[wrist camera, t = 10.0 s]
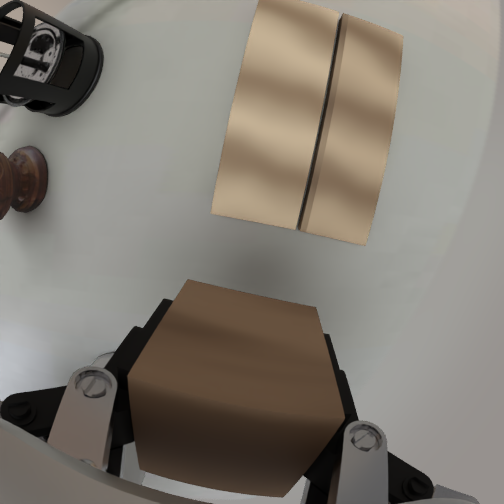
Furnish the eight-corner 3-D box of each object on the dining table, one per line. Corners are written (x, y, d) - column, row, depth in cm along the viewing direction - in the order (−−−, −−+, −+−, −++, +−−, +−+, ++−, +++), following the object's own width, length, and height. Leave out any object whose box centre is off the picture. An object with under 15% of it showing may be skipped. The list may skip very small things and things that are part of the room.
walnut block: (281, 395, 11) (283, 497, 6) (177, 373, 11) (139, 469, 6) (315, 307, 10) (345, 417, 5) (187, 279, 10) (127, 375, 5)
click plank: (293, 225, 24) (296, 230, 23) (212, 210, 24) (210, 213, 22) (334, 19, 19) (340, 12, 17) (260, 0, 18) (261, -8, 17)
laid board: (359, 241, 25) (365, 246, 23) (297, 226, 24) (299, 231, 23) (396, 41, 19) (403, 35, 17) (339, 20, 19) (343, 13, 17)
